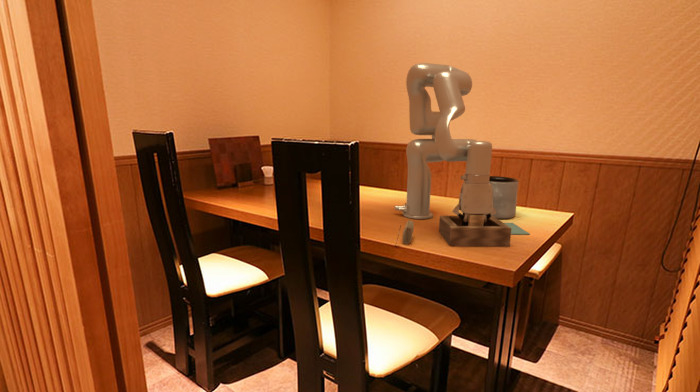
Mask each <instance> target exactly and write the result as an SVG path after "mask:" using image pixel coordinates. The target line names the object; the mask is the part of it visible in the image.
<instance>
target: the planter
mask: <svg viewBox="0 0 700 392" xmlns="http://www.w3.org/2000/svg"><path fill="white" fill-rule="evenodd" d="M489 183H490V184H492V193H493V207H494V209H495V210H496V214H494V215H493V216H494V217H496V218H497V219H499V220H508V219H512V218H513V217H515V216H516V211H517V202H518V201H517V200H518V189H519V179H516V178H513V177H508V176H499V175H495V176H494V175H490V178H489Z"/></svg>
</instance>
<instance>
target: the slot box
mask: <svg viewBox="0 0 700 392" xmlns="http://www.w3.org/2000/svg"><path fill="white" fill-rule="evenodd" d="M504 223H505V222H503V221H502V220H501V219H497V218H496V217H494V216H491V217H490V218H489V219H488V220H487V222H485V226H462V220H461V219H460V217H459V216H457V215H443V214H442V215H439V223H438V233H439V234H440V236H441V237H442V238H443V239H444V240H445V242H446V243H447V244H448V246H450V247H485V248H486V247H487V248H488V247H495V248H496V247H498V248H499V247H500V248H501V247H502V248H503V247H505V248H507V247H508V248H509V247H510V245H511V237H512V236H511V229H512V228H510V227H509V226H507V225H506V224H504Z"/></svg>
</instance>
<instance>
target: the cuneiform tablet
mask: <svg viewBox="0 0 700 392" xmlns="http://www.w3.org/2000/svg"><path fill="white" fill-rule="evenodd" d="M414 226H415V224H414V221H412V220H411V219H409V220H407V221H406V223H405V226H404V228H403V231H402V237H401V238H402V244H403V245H406V246H407V245H409V244H410V243H411V241H412V238H413V234H414ZM401 227H402V225H400V227H399V231H398V234H397V238H396V243H395V245H394V246H395V248H396V247H397V243H398V239H399V235H400V232H401Z"/></svg>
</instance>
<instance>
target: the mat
mask: <svg viewBox="0 0 700 392" xmlns="http://www.w3.org/2000/svg"><path fill="white" fill-rule="evenodd" d="M503 223H504V224H506V225H507V226H509V227H510V228H512V229H511V235H514V236H525V235H526V236H530V235H531V234H530V232H529V231H527V230H525V229H523V228H522V227H520V226H518V225H517V224H515V223H514V222H503Z"/></svg>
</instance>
